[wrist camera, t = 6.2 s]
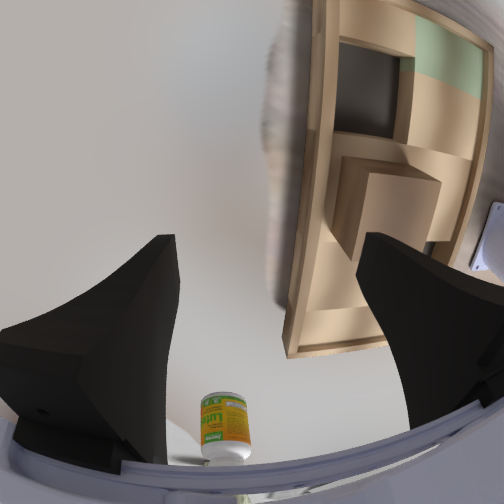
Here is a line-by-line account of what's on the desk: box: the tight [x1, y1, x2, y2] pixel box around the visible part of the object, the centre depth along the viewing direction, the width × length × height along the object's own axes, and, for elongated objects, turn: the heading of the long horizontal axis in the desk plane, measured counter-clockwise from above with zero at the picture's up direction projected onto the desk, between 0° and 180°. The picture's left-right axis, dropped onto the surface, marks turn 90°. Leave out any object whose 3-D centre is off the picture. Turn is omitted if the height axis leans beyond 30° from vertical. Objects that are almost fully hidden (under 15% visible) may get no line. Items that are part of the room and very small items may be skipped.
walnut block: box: [331, 156, 442, 262], centre depth 16 cm, size 5×5×4 cm
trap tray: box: [282, 0, 494, 359], centre depth 18 cm, size 14×28×3 cm, turn 178°
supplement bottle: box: [201, 392, 251, 466], centre depth 27 cm, size 5×5×10 cm
